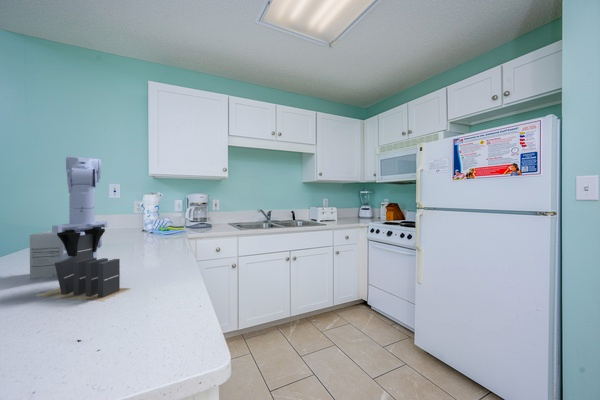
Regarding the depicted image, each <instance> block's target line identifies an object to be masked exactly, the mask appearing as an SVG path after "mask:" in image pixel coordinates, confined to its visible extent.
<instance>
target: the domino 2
mask: <svg viewBox="0 0 600 400" xmlns="http://www.w3.org/2000/svg"><path fill="white" fill-rule="evenodd" d="M77 256H79V261H80V260H84V259H88V258H93V234H86V235H80V237H79V240H78V247H77ZM72 257H73V256H72Z"/></svg>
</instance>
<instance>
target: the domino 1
mask: <svg viewBox="0 0 600 400" xmlns="http://www.w3.org/2000/svg"><path fill="white" fill-rule="evenodd" d="M76 261H79V256H73V257H70V258H67V259H64V260H61V261H58V262H55V268H56V272H57V276H56V277H57V282H58V284H59V288H60V290H61V294H68V293H70V292H73V291H74V262H76Z"/></svg>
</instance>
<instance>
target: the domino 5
mask: <svg viewBox="0 0 600 400" xmlns="http://www.w3.org/2000/svg"><path fill="white" fill-rule="evenodd" d="M120 263H121V262H120V258H112V259H110V260H109V259H108V261H105V262H101V263H98V297H102V298H103V297H106V296H108V295H111V294H113V293H115V292H118V291H120V288H121V287H120V286H121V284H120V283H121V282H120V279H121V275H120V274H121V273H120V272H121V271H120V268H121V267H120V266H121V265H120Z"/></svg>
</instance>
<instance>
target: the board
mask: <svg viewBox="0 0 600 400" xmlns="http://www.w3.org/2000/svg"><path fill="white" fill-rule="evenodd" d="M131 289H132V288H127V287H120V291H118V292H115V293H113V294H111V295H108V296H106V297H103V298H102V297H98V294H96V295H94V296H91V297H89V296H86V293H84V294H82V295H79V296H76V295H74V291H73V292H70V293H68V294H61V290H60V287H58V288H54V289H51V290H49V291H44V292H41V293H39V294H36V295H35V294H34V297H44V298H45V297H46V298H56V299H69V300H81V301H92V302H93V301H94V302H104V301H106V300H109V299H111V298H113V297H115V296H117V295H118V296H119V295H120V294H123V293H124V292H127V291H129V290H131Z"/></svg>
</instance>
